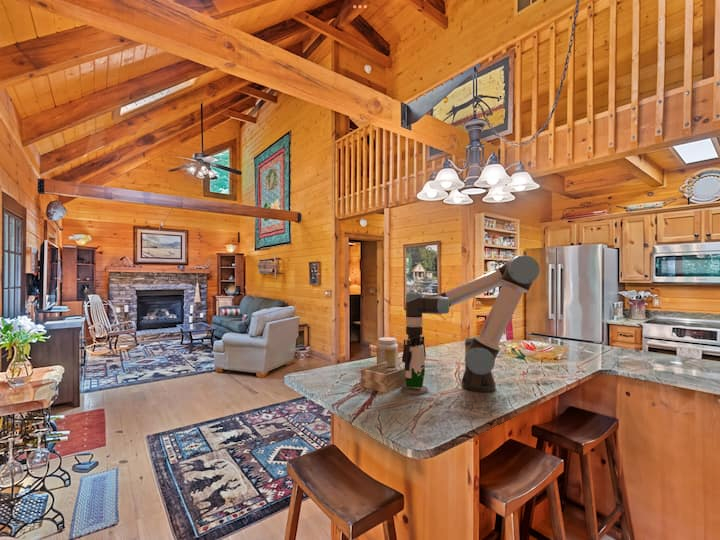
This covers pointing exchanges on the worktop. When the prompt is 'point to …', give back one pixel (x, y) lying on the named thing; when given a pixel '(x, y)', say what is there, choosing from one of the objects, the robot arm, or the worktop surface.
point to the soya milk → (416, 367)
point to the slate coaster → (414, 390)
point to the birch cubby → (382, 378)
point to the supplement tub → (388, 352)
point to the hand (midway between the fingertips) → (414, 375)
